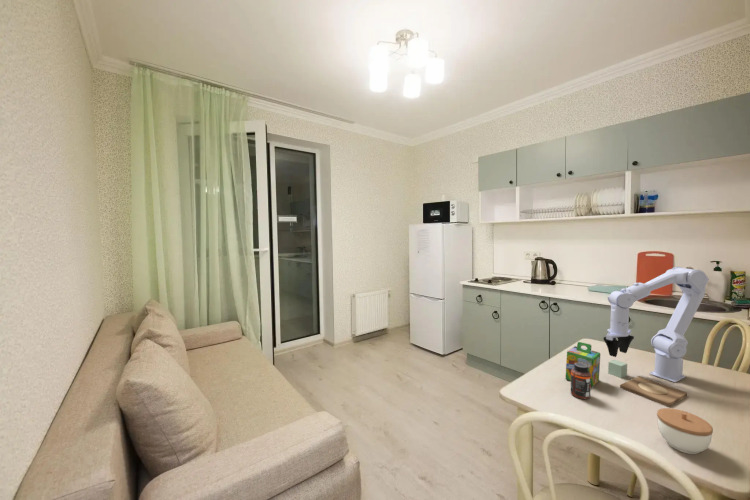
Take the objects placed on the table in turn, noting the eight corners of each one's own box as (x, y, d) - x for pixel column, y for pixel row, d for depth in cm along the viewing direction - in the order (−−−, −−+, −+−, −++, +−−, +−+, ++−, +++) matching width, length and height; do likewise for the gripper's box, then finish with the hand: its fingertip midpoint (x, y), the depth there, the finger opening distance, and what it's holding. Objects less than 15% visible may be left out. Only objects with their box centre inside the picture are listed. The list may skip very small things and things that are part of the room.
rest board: (639, 379, 121) (639, 375, 120) (687, 396, 108) (687, 392, 108) (620, 387, 114) (620, 384, 114) (668, 407, 102) (669, 403, 102)
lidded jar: (645, 434, 89) (647, 403, 88) (679, 431, 90) (680, 401, 89) (685, 462, 78) (687, 427, 78) (723, 459, 79) (725, 424, 79)
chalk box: (565, 379, 121) (565, 343, 120) (573, 372, 127) (574, 337, 126) (592, 388, 114) (593, 350, 113) (600, 380, 120) (601, 344, 119)
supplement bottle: (593, 400, 106) (594, 369, 106) (574, 399, 108) (575, 368, 107) (585, 391, 112) (586, 361, 111) (567, 390, 113) (568, 360, 113)
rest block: (614, 371, 128) (614, 359, 127) (626, 375, 124) (627, 363, 123) (608, 373, 126) (608, 361, 125) (620, 378, 122) (621, 366, 121)
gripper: (617, 316, 130) (616, 347, 131) (598, 321, 123) (597, 354, 124) (637, 320, 124) (636, 353, 124) (618, 326, 117) (617, 360, 118)
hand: (618, 354), depth 124 cm, fingers open, 7 cm apart
